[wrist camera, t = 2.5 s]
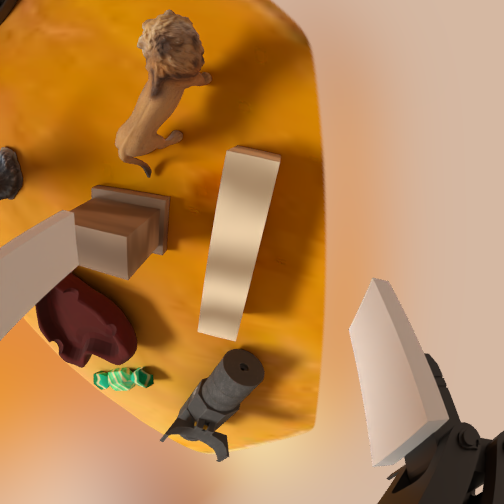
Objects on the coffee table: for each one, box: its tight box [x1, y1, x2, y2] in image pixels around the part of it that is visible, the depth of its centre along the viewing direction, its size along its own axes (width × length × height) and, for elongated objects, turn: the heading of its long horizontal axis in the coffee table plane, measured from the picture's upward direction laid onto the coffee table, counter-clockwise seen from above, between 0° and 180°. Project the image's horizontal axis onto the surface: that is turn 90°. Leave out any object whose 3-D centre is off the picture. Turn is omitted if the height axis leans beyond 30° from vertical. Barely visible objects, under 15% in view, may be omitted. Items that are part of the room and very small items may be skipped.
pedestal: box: [69, 185, 170, 280], centre depth 25 cm, size 6×9×8 cm, turn 80°
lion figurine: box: [115, 10, 212, 178], centre depth 19 cm, size 15×5×9 cm, turn 158°
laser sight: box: [160, 349, 264, 462], centre depth 36 cm, size 10×22×10 cm, turn 153°
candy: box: [94, 367, 154, 391], centre depth 40 cm, size 12×3×4 cm
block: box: [198, 145, 281, 341], centre depth 26 cm, size 18×4×5 cm, turn 168°
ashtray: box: [35, 272, 137, 368], centre depth 34 cm, size 18×16×5 cm
